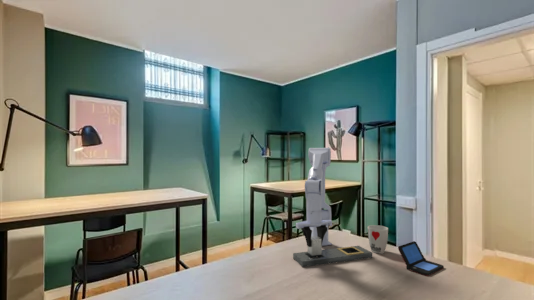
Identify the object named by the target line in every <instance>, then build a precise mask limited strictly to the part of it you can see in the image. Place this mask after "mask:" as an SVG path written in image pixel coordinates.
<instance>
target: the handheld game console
mask: <svg viewBox="0 0 534 300" xmlns="http://www.w3.org/2000/svg"><path fill="white" fill-rule="evenodd" d="M397 249H398V251H399V253H400V256H401V257H402V260H403V262H404V264H405V265H406V270H408V271H411V272H414V273H417V274H419V275H422V276H427V277H429V276H431V275H432V274H435V273H438V272H439V271H441V270H443V269H444V268H445V267H444V265H443V264H440V263H438V262H437V263H436V262H433V261H430V260H427V259H426V258H425V256H424V255H423V252H422V251H421V249H420V246H419V245H418V243H417V242H416V241H410V242H408V243H404V244H401V245H399V246H398V247H397Z"/></svg>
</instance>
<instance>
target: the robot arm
mask: <svg viewBox="0 0 534 300" xmlns="http://www.w3.org/2000/svg"><path fill="white" fill-rule="evenodd" d="M331 153H332V151H331V148H330V147H309V148H308V153H307V154H308V160H309V164H310V166H312V167H311V168H310V169H309V170H308V176H307V180H305V181H304V193H305V194H304V195H305V199H306V220H303V221H299V222H295V229H297V230H301V231H302V233H303V235H304V239H305V242H306V246H308V247H311V236H318V237H319V238H321V247H323V246H325V247H326V246H331V245H333V243H332V242H330V241H329V227H332V226H333V221H332V207H331V205H329V204H328V203H327V202H326V170H327V167H330V166H331V161H332V160H331V158H332V156H331V155H332V154H331Z"/></svg>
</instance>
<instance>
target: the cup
mask: <svg viewBox="0 0 534 300" xmlns="http://www.w3.org/2000/svg"><path fill="white" fill-rule="evenodd" d="M388 233H389V227H387V226H384V225H378V224H377V225H376V224H373V225H372V224H371V225H370V224H369V225H368V226H367V238H368V243H369V247H370V250H371V251H370V252H372V251H373V252H372V253H374V252H375V254H384V253H385V252H386V249H387V244H388V239H389V234H388Z"/></svg>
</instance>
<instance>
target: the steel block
mask: <svg viewBox="0 0 534 300" xmlns="http://www.w3.org/2000/svg"><path fill="white" fill-rule="evenodd" d="M306 246H307V245H306ZM306 248H307V252H308V253H309V254H311V255H312V256H313V255H321V254H322V250H323V248H322V246H321V238H319V237H318V236H311V247H308V246H307V247H306Z"/></svg>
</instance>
